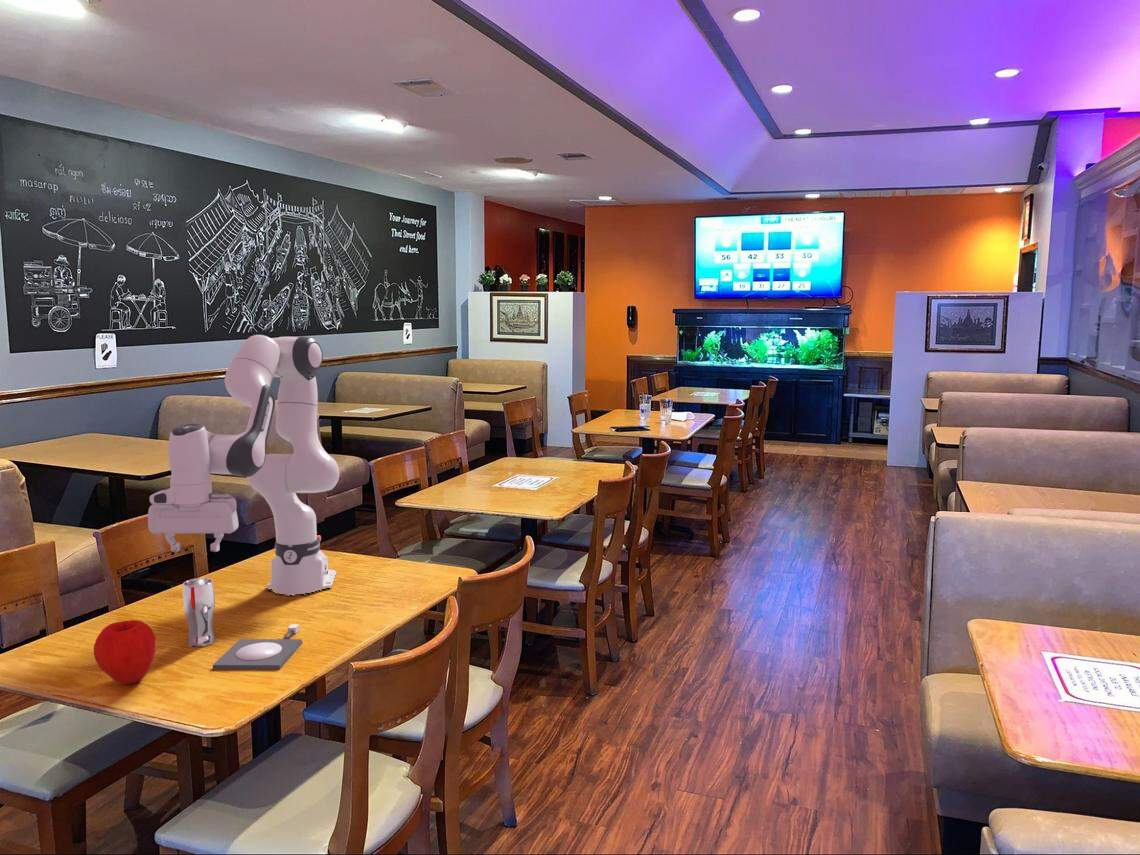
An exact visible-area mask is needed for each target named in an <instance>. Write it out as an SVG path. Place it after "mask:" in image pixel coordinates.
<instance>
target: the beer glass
mask: <svg viewBox="0 0 1140 855" xmlns="http://www.w3.org/2000/svg"><path fill="white" fill-rule="evenodd" d="M215 603H216V596H215V587H214V580H213V578H209V577H198V578H192V579H189V580H185V581H184V582H183V583H182V604H183V611H184V614H185V619H186V621H187V626H188V639H187V640H188V641H187V645H188V644H189V645H191V646H190V647H192V646H202V647H204V646H203V645H207V646H210V645H212V644H214V643H215V642H216V641H217V640H216V636H215V632H214V614H215V607H216V604H215ZM214 641H215V642H214ZM213 642H214V643H213ZM211 643H212V644H211ZM209 644H210V645H209ZM189 645H188V646H189Z"/></svg>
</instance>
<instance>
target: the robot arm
mask: <svg viewBox="0 0 1140 855" xmlns="http://www.w3.org/2000/svg"><path fill="white" fill-rule="evenodd" d="M323 355H324V354H323V349H322V346H321V345H320V344H319V342H318V341H317V340H316V339H315V338H313V337H310V336H309V337H308V336H304V335H301V336H279V337H272V338H271V337H269V336H267V335H263V334H255V335H251V336H249V337H248V338H247V339H246V340H245V341H244V342H243V343H242V345H241V346H240V347H239V349H238V350H237V352H235V355H234V357H233V358H232V360H231V362H230V364H229V366H228V368H227V370H226V372H225V375H224V381H223V382H224V386H225V389H226V390H227V392H228V394H229V395H230V397H232V398H233V399H234V400H235V401H236V402H238V403H239V404H242V405H244V406H246V407H248V408H251V410H250V414H249V418H248V422H247V426H246V429H245V430H244V431H243V432H241V433H239V434H221V433H213V432H211V431H208V430H206V428H205V425H204V424H202V423H187V424H181V425H178V426H176V427H174V428H172V429H171V431H170V433H169V438H168V446H167V448H168V453H167V454H168V466H169V468H170V472H171V476H170V479H169V480H170V482H169V483H170V485H169V486H170V487H165V488H164V489H163V490H159V491H157V492H154V493H153V494H151V495H150V496H149V503H150V504H151V505H150V506H149V508H148V511H147V512H148V513H147V526H148V527H147V528H148V530H149V531H150V533H151V534H164V538H165V539H166V541H167V543H168V544H169V545H170V552H180V551H181V542H177V540H176V538H175V537H174V536H176V534H213V536H214V538H215V540H214V542H212V543H210V545H209V546H210V547H209V548H210V549H209V550H210V552H212V553H213V552H214V553H216V552H217V553H218V552H219V551H220V547H221V546H220V543H221V541H222V539H223V538H224V536H225V535H224V534H232V533H234V532H235V531H237V530H238V528H239V517H238V512H237V498H235V497H234V496H232V495H231V494H229V493H213V486H212V485H213V484H212V476H211V474H217V475H234V476H239V477H245V478H246V479H247V481H248V484H249V485H250V487H251V488H252V489H253V490H255V491H256V492H258V493H259V495H261V496H262V497H263V499H264V500H265V502H267V504H268V505H269V508H270V510H271V512H272V515H273V519H274V528H275V540H276V541H275V542H274V553H275V557H274V558H273V559H272V560H271V562H270V582H269V583H267V584H266V586H265V588H266V587H268V588H271V589H273V590H274V591H275V592H277V593H281V594H288V595H287V596H290V595H292V594H304V593H309V592H313V591H316V590H319V589H322V588H327V587H331V586H332V584H333V581H334V582H335V580H334V578H335V579H336V577H335V575H336V576H337V574H336V573H337V571H336V570H335V569H331V568H329V560H328V558H329V557H328V556H327V555H326V554H325V553H324V552H323V551H322V550H321V545H320V543H321V540H322V536H321V535H320V534H319V535H317V534H318V531H317V515H316V513H315V511H314V509H313V508H312V507H311V506H309V505H307V504H305V503H303V502H302V501H301V500H300V499H299V497H298V495H297V494H317V493H322V492H323V493H324V492H329V491H331V490H333V489H334V488H335V487H336V485H337V483H338V482H339V479H340V468H339V465H338V462H337V460H335V458H333V457H332V456H331V455H330V454H329V453H328V452H327V451H326V450H325V449H324V447H323V446H322V443H321V441H320V437H319V434H318V401H319V400H318V399H319V395H318V394H319V393H318V384H317V378H316V375H317V373H318V371H319V370H320V368H321V366H322V363H323V359H324V358H323ZM274 378H279V381H280V382H279V386H278V392H277V398H276V392H275V391H274V389H273V387H272V386H271V385H272V382H273V380H274ZM275 407H276V417H275V430H276V432H277V435H278V436H279V437H281V438H282V439H283V440H285V441H287V442H288V443H291V445H292V447H293V448H292V449H293V453H269V454H267V444H268V438H269V434H270V430H271V426H272V422H273V421H272V420H273V417H274V412H275ZM333 585H334V584H333ZM304 595H305V594H304ZM292 596H293V595H292Z"/></svg>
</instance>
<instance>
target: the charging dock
mask: <svg viewBox="0 0 1140 855" xmlns="http://www.w3.org/2000/svg"><path fill="white" fill-rule="evenodd" d="M297 632H300V623H294V624H293V623H291V624H290V625H289V626H288V627H287V634H286V635H285V636H284V637H283V638H282V639H280V638H279V639H278V638H265V639H264V638H263V639H262V638H240V639H238V640H237V642H235V643H234V644H233V645H232V646H231V647H230V648H229V649H228V650H226V652H225V653H224V654H222V655H221V656H220V658H219V659H217V660H216V661H215V662H214V663H213V664H212V670H281V669H282V668H283V666H285V664H286V663H287V662H288V660H289V659H290V658H291V657H292V656H293V655H294V653H295V652H296V651H297V650H299V648H300V647H301V646H302V644H303V639H302V638H301V639H300V638H299V639H298V638H295V639H294V638H291V637H292V636H293V635H297V634H298V633H297ZM293 633H295V634H293ZM296 633H297V634H296ZM299 646H300V647H299Z"/></svg>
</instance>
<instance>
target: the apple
mask: <svg viewBox="0 0 1140 855" xmlns="http://www.w3.org/2000/svg"><path fill="white" fill-rule="evenodd" d="M156 643H157V642H156V635H155V633H154V631H153V628H152V627H150V626H149V624H147V623H145V622H144V621H141V620H137V619H132V620H131V619H130V620H122V621H121V620H120V621H116V622H113V623H109V624H108V625H107V626H105V627H104V628H102V629H101V631H100V632H99V634H98V636H97V637H96V639H95V642H94V645H93V656H94V659H95V663H96V664H97V666H99V669H100V670H101V671H102V672H104V673H105V674H106V675H107V676H108V677H109V678H111V679H112V680H113V681H114V682H115V683H119V684H121V685H131V684H134V683H139V682H140V681H141V680H143V679H144V678H145V676H146V674H147V673H148V671H149V669H150V667H151V666H152V663H153V661H154V657H155V654H156Z"/></svg>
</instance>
